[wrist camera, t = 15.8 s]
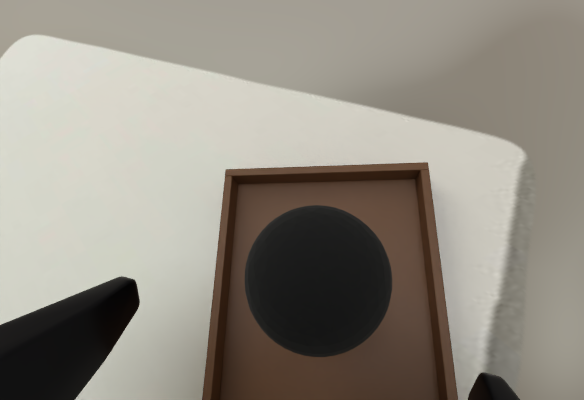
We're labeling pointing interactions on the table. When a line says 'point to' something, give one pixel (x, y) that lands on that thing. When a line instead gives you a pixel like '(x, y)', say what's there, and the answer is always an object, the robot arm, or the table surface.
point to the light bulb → (318, 281)
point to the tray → (401, 311)
